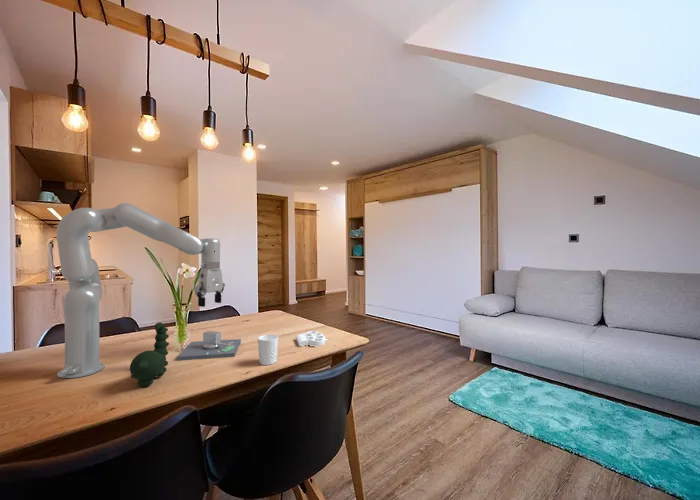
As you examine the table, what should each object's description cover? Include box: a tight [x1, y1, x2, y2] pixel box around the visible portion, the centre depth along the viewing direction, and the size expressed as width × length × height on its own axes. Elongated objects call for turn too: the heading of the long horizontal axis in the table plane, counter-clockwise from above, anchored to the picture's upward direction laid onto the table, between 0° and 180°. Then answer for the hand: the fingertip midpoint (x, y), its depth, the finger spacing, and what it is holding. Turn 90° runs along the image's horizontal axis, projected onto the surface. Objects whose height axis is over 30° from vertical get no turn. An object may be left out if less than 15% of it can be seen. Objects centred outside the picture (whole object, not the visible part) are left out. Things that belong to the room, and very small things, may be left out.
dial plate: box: [176, 338, 242, 361], centre depth 134 cm, size 20×22×2 cm
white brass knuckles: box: [294, 330, 328, 347], centre depth 148 cm, size 3×18×15 cm
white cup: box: [257, 334, 279, 366], centre depth 121 cm, size 8×8×10 cm
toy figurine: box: [129, 321, 170, 388], centre depth 106 cm, size 9×19×25 cm
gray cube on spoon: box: [202, 330, 231, 350], centre depth 133 cm, size 7×14×6 cm, turn 72°
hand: (210, 304), depth 134 cm, fingers open, 9 cm apart
